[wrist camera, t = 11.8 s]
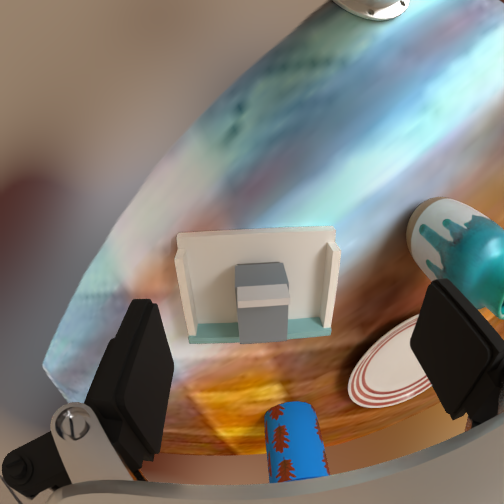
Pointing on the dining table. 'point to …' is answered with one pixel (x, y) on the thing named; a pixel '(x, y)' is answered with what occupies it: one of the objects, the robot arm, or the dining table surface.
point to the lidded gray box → (262, 302)
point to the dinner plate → (388, 370)
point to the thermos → (294, 443)
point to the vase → (460, 250)
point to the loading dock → (256, 251)
